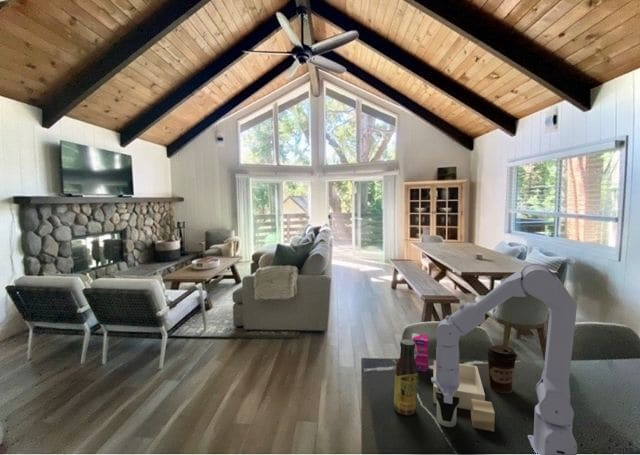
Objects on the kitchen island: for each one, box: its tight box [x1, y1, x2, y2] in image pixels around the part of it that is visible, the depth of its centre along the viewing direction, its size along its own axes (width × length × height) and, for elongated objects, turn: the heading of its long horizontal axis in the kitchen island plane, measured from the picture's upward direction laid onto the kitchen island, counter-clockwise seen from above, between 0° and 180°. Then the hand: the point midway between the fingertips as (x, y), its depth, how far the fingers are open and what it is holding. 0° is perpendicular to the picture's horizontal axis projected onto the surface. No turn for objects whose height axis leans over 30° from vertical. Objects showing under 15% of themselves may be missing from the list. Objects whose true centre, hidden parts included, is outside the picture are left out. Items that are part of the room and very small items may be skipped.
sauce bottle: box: [393, 338, 419, 416], centre depth 92 cm, size 7×6×20 cm
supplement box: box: [411, 332, 430, 373], centre depth 116 cm, size 6×6×12 cm
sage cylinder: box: [435, 391, 458, 428], centre depth 88 cm, size 5×5×7 cm
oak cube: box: [470, 399, 496, 432], centre depth 87 cm, size 5×5×5 cm
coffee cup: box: [486, 344, 518, 394], centre depth 103 cm, size 9×8×13 cm
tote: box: [432, 359, 486, 411], centre depth 102 cm, size 18×14×5 cm
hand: (446, 413), depth 88 cm, fingers closed on sage cylinder, 5 cm apart
